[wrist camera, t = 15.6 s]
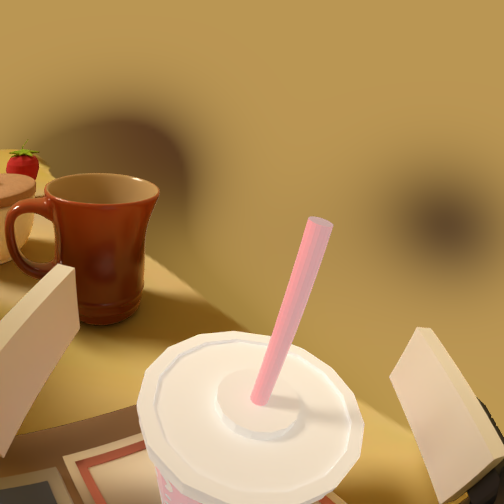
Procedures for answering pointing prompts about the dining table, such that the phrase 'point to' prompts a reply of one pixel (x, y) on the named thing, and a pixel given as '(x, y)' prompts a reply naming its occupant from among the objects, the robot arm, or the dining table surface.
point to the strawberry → (23, 163)
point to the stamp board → (86, 464)
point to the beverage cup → (251, 409)
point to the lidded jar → (3, 197)
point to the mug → (93, 239)
